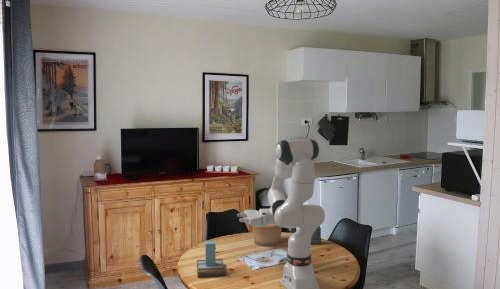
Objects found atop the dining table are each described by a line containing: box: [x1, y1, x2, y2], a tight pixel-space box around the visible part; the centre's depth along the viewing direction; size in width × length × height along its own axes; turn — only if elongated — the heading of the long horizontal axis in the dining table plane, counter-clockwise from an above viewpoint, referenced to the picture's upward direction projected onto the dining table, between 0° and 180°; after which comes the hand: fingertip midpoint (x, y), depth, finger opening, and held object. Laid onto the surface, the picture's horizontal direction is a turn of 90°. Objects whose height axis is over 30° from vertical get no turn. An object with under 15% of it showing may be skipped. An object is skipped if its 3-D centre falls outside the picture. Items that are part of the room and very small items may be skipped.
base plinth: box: [196, 258, 226, 278], centre depth 216 cm, size 16×14×3 cm
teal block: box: [204, 240, 216, 266], centre depth 215 cm, size 5×5×12 cm
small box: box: [311, 225, 322, 245], centre depth 261 cm, size 11×6×10 cm, turn 84°
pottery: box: [251, 224, 283, 248], centre depth 261 cm, size 22×22×14 cm
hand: (238, 217), depth 224 cm, fingers open, 8 cm apart
